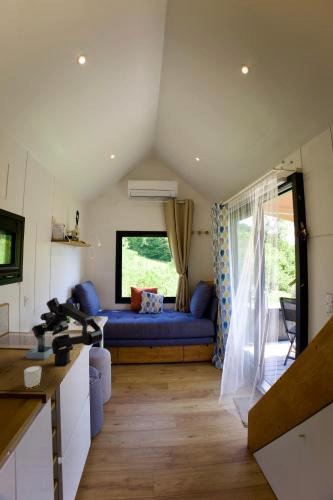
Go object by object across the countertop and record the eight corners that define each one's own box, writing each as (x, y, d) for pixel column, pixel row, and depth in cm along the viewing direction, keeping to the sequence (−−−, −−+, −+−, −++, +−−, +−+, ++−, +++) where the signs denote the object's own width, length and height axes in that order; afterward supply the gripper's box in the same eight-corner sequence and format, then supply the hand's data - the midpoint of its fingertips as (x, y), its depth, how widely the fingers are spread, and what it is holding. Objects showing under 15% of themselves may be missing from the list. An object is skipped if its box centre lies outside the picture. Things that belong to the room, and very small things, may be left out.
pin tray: (55, 352, 147) (55, 346, 147) (44, 359, 136) (44, 353, 136) (37, 351, 148) (38, 345, 148) (25, 358, 137) (25, 352, 137)
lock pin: (45, 355, 140) (46, 332, 140) (33, 356, 138) (34, 333, 139) (47, 351, 146) (48, 330, 146) (36, 352, 144) (37, 330, 145)
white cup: (44, 381, 112) (44, 365, 112) (36, 389, 105) (37, 372, 105) (28, 381, 111) (29, 365, 112) (20, 389, 105) (20, 372, 105)
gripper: (66, 305, 146) (54, 322, 152) (34, 310, 131) (22, 329, 136) (74, 321, 142) (62, 337, 147) (42, 328, 126) (30, 346, 132)
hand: (44, 337), depth 141 cm, fingers open, 9 cm apart
